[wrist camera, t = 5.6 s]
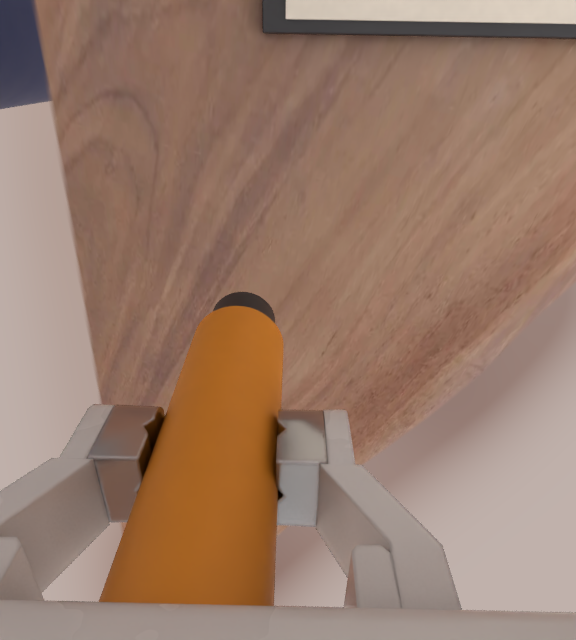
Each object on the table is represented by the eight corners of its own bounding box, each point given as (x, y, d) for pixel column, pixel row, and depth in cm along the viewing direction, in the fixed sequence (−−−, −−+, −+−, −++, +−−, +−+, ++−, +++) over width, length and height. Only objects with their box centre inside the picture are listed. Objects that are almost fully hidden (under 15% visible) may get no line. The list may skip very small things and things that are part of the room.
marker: (204, 353, 16) (-30, 1127, 4) (198, 279, 14) (-160, 1114, 3) (285, 355, 16) (262, 1134, 4) (286, 281, 14) (258, 1126, 3)
